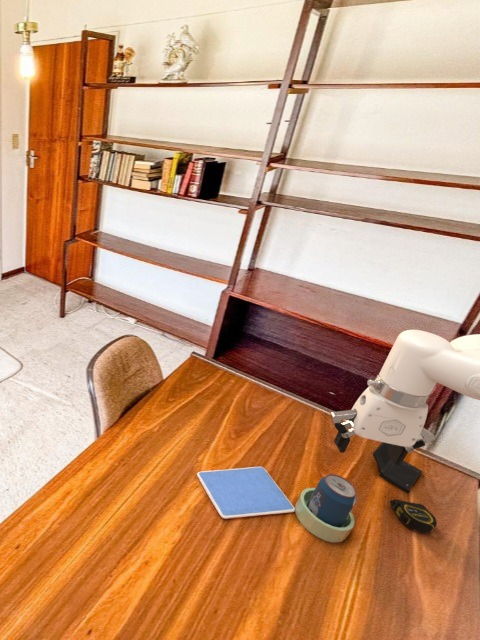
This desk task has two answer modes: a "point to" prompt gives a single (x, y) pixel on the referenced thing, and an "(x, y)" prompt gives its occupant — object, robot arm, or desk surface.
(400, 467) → the handheld gaming console
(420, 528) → the tape measure
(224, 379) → the desk surface
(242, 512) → the tablet
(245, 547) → the desk surface
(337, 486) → the soda can
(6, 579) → the desk surface
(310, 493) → the bowl
